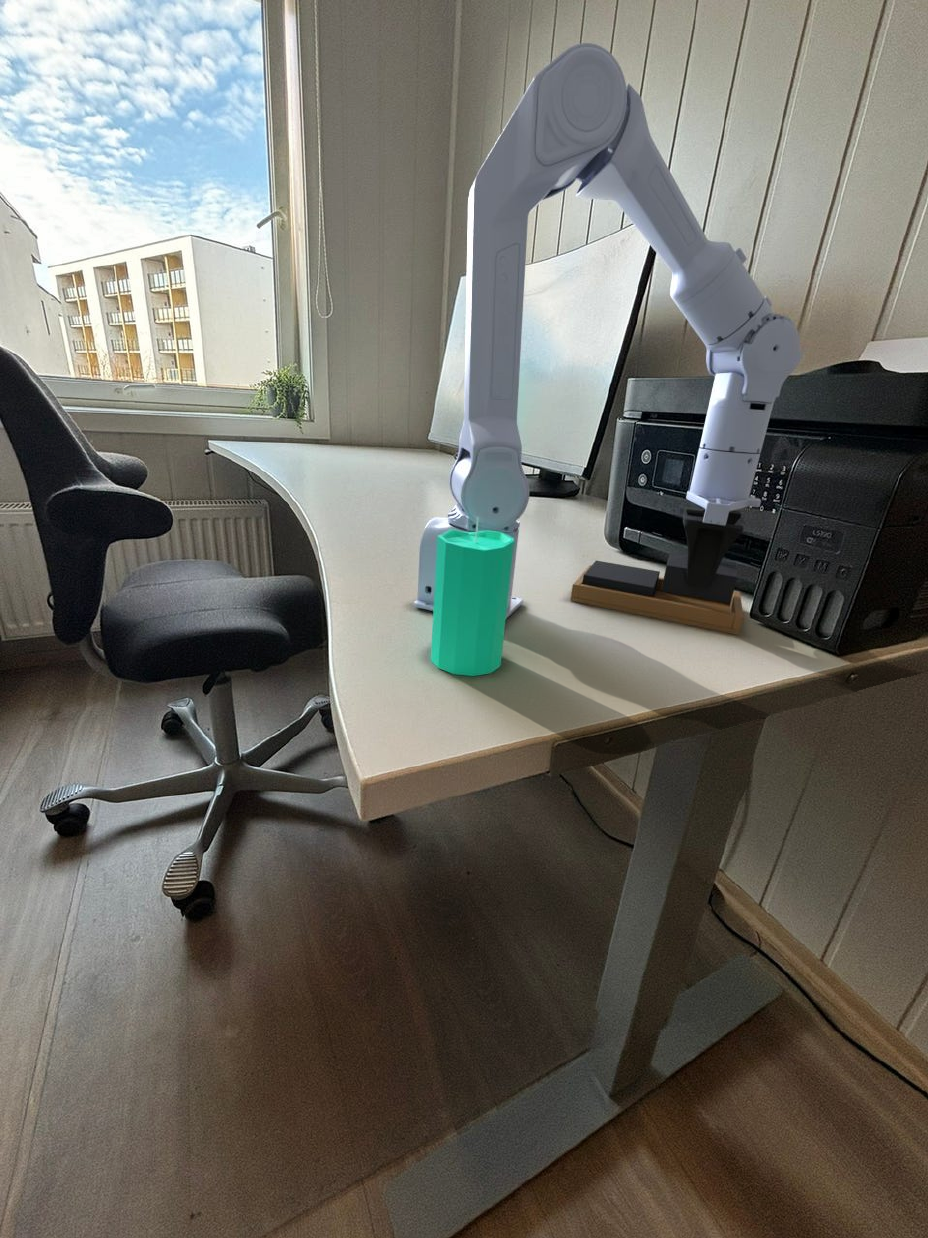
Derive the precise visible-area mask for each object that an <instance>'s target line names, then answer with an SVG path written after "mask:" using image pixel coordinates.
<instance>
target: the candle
mask: <svg viewBox="0 0 928 1238" xmlns="http://www.w3.org/2000/svg"><path fill="white" fill-rule="evenodd" d="M478 520H479V517H477V522H476V532H469V533H467V532H462V531H457V530H452V529H451V530H449V531H447V532H445V533H443V534H441V535H439V536H438V539H437V557H436V575H435V593H434V611H432V614H433V615H432V633H431V647H430V648H431V650H430V661H431V663H433V664H434V665H435V666H436V668H438V669H439V670H442V671H444V672H448V673H450V674H453V675H457V676H458V675H460V676H471V677H476V676H482V675H488V674H492V673H493V672H495V671H496V670H498V669H499V668H501V667H502V666H501V665H502V657H503V655H502V654H503V646H504V637H505V636H504V635H505V627H506V621H507V618H506V611H507V601H508V592H509V583H510V574H511V565H512V556H513V546H514V538H512V537H511V536H509V535H507V534H505V533H502V532H496V531H489V530H485V531H478Z"/></svg>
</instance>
